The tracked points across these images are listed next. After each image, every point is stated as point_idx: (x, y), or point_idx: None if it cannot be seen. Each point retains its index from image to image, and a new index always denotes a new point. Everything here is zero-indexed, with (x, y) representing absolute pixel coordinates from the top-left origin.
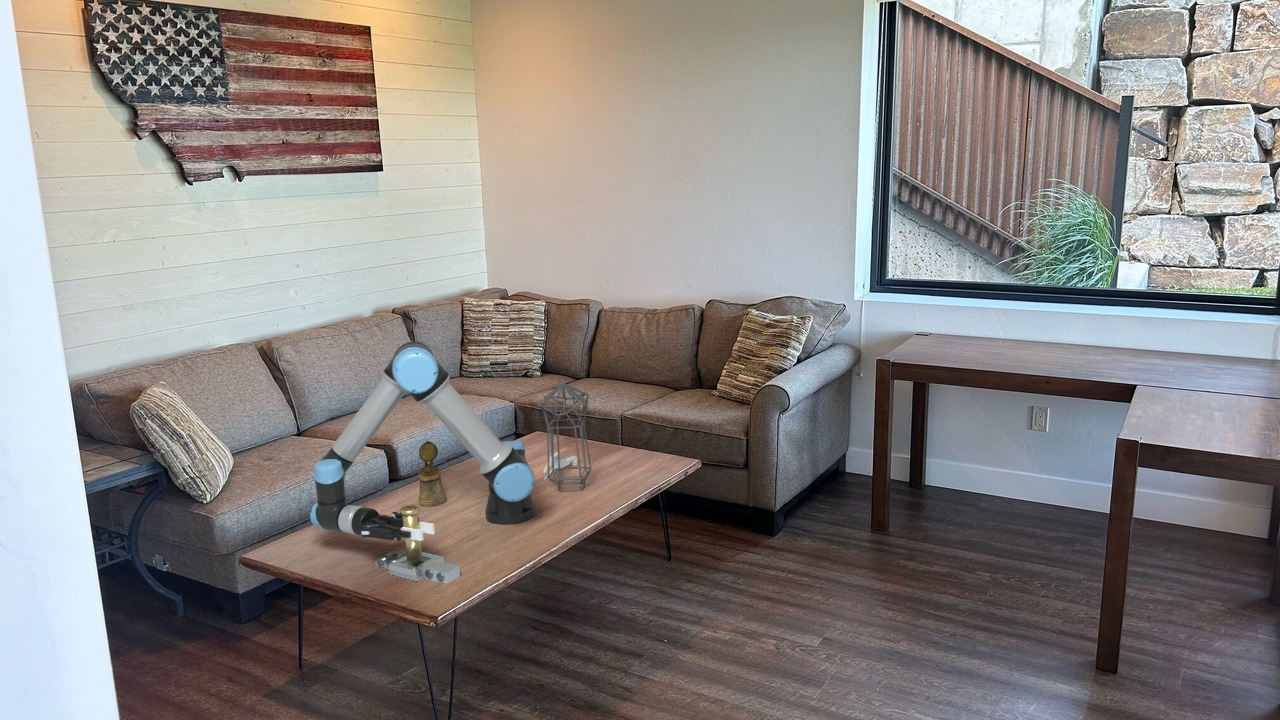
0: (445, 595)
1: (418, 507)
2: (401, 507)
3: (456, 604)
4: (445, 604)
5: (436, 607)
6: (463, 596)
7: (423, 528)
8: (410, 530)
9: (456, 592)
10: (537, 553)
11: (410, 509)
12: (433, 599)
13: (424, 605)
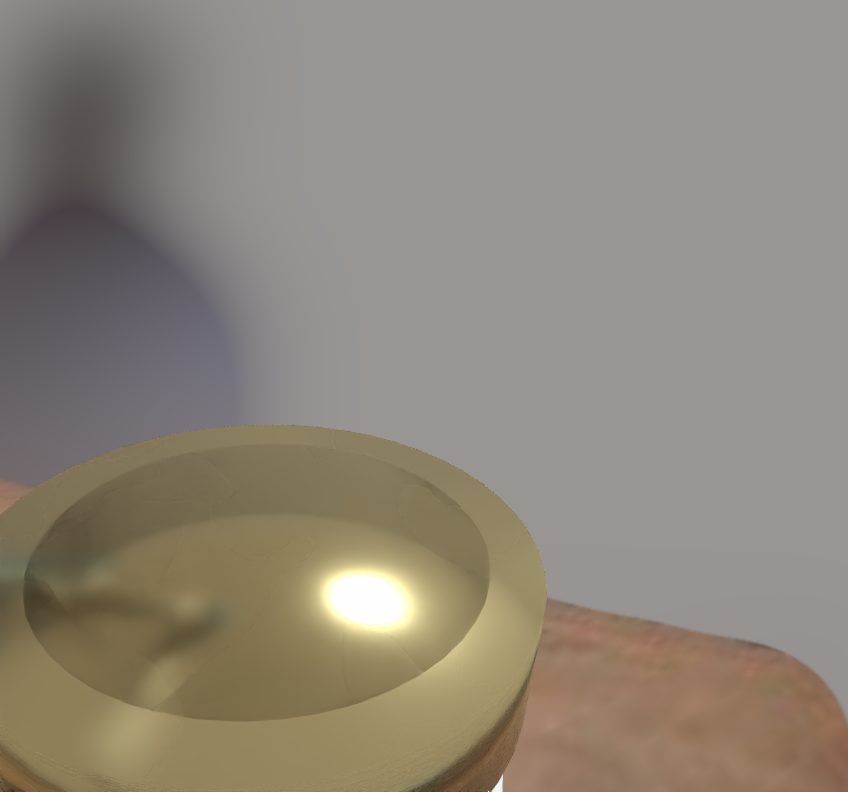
0: (620, 714)
1: (233, 430)
2: (218, 768)
3: (671, 627)
4: (706, 672)
5: (764, 700)
6: (581, 628)
7: None
8: (500, 783)
9: (557, 674)
10: (16, 497)
11: (376, 500)
12: (704, 758)
13: (799, 774)
